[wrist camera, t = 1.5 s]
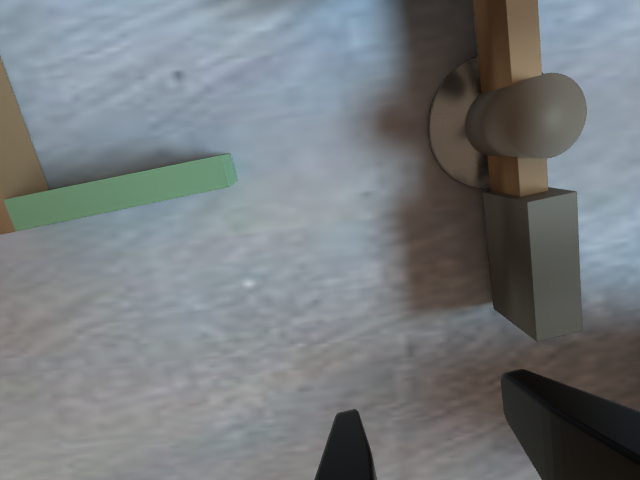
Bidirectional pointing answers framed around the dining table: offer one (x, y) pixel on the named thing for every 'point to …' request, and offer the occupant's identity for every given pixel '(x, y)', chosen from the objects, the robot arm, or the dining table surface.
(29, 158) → the pocket
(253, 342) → the dining table surface
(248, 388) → the dining table surface
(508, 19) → the flipper
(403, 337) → the dining table surface
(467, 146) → the pivot disc
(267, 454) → the dining table surface
